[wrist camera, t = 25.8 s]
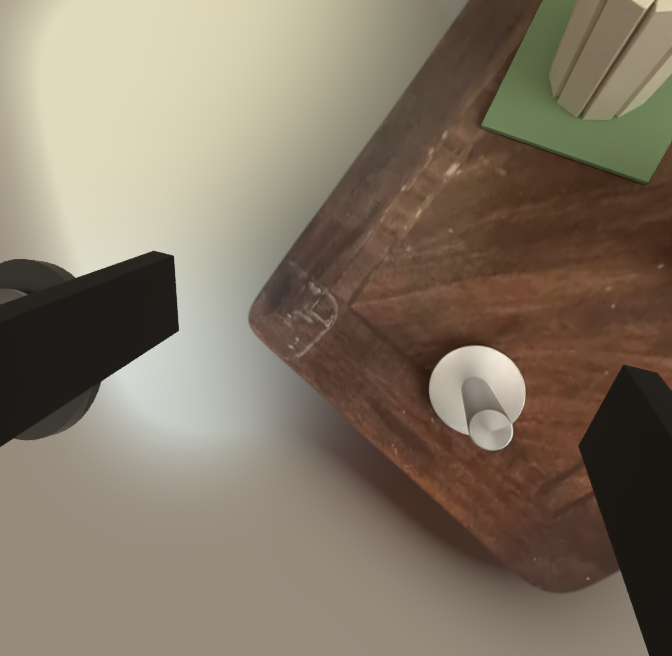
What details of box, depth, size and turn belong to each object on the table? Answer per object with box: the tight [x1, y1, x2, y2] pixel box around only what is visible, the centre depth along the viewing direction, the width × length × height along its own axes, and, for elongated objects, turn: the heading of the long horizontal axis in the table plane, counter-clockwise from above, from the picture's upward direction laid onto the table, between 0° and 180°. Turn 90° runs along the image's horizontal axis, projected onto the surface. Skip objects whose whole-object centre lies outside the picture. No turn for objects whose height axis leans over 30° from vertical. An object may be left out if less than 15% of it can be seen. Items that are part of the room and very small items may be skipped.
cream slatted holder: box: [549, 0, 672, 120], centre depth 26 cm, size 8×8×12 cm
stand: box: [429, 344, 526, 451], centre depth 29 cm, size 8×8×14 cm
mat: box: [481, 0, 672, 184], centre depth 32 cm, size 14×14×1 cm
